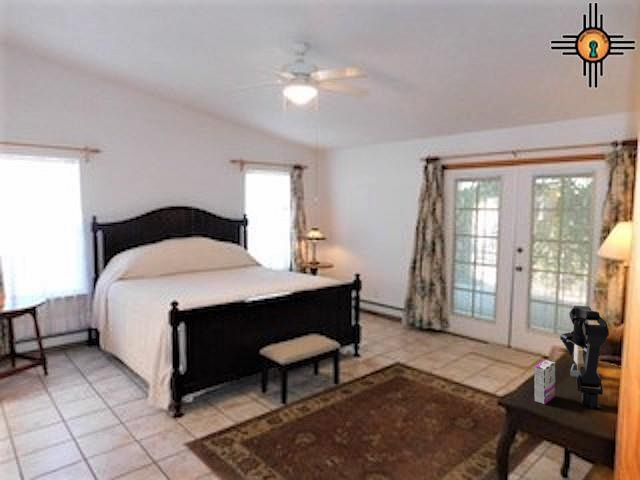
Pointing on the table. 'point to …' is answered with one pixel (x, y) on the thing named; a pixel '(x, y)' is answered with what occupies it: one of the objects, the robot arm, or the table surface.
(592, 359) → the robot arm
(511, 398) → the table surface
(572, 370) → the tray
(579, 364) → the oak handle block
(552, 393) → the candy bar box
